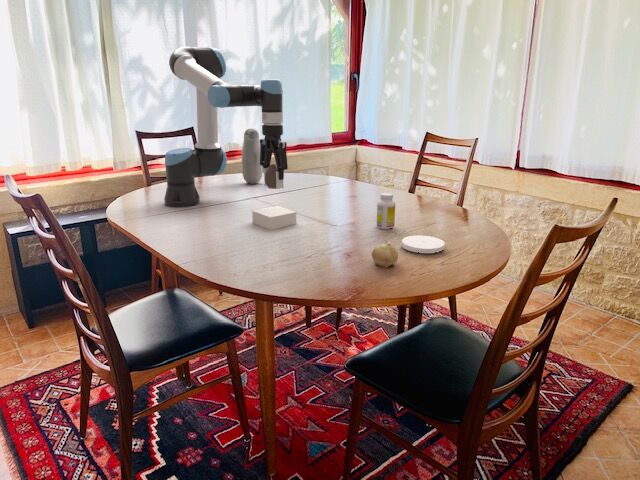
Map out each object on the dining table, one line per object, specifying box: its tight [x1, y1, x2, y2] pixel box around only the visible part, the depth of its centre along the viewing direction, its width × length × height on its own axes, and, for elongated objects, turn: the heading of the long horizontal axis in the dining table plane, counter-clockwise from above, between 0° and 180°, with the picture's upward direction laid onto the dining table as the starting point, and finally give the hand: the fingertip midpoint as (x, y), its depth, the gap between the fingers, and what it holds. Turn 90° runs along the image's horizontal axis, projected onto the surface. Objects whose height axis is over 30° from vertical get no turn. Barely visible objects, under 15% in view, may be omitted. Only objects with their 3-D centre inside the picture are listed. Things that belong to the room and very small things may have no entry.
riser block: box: [251, 205, 297, 230], centre depth 194 cm, size 12×12×5 cm
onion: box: [371, 240, 399, 268], centre depth 153 cm, size 8×8×7 cm
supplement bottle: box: [376, 192, 396, 230], centre depth 188 cm, size 7×7×13 cm
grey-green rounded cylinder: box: [241, 128, 263, 185], centre depth 259 cm, size 10×10×28 cm
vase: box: [263, 163, 277, 190], centre depth 189 cm, size 7×7×9 cm
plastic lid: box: [401, 234, 446, 254], centre depth 168 cm, size 14×14×2 cm
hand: (273, 186), depth 190 cm, fingers closed on vase, 7 cm apart
